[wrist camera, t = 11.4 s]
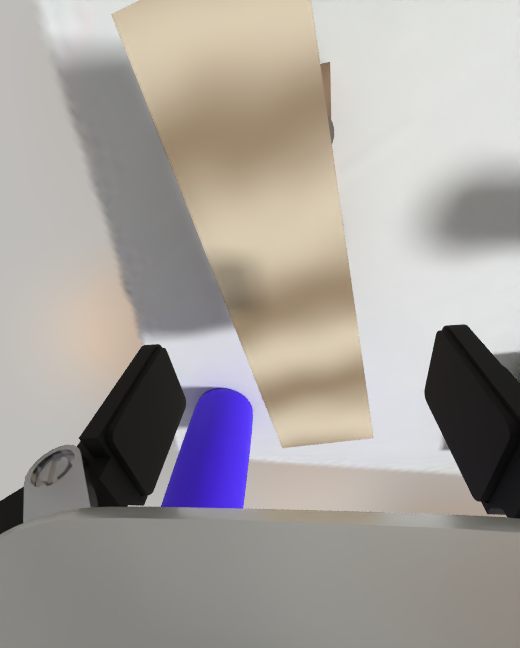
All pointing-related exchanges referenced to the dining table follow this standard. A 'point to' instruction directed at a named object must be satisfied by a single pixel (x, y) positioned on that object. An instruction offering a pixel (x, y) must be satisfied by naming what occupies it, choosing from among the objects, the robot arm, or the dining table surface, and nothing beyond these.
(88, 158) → the dining table surface
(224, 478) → the bottle
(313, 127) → the shelf board
